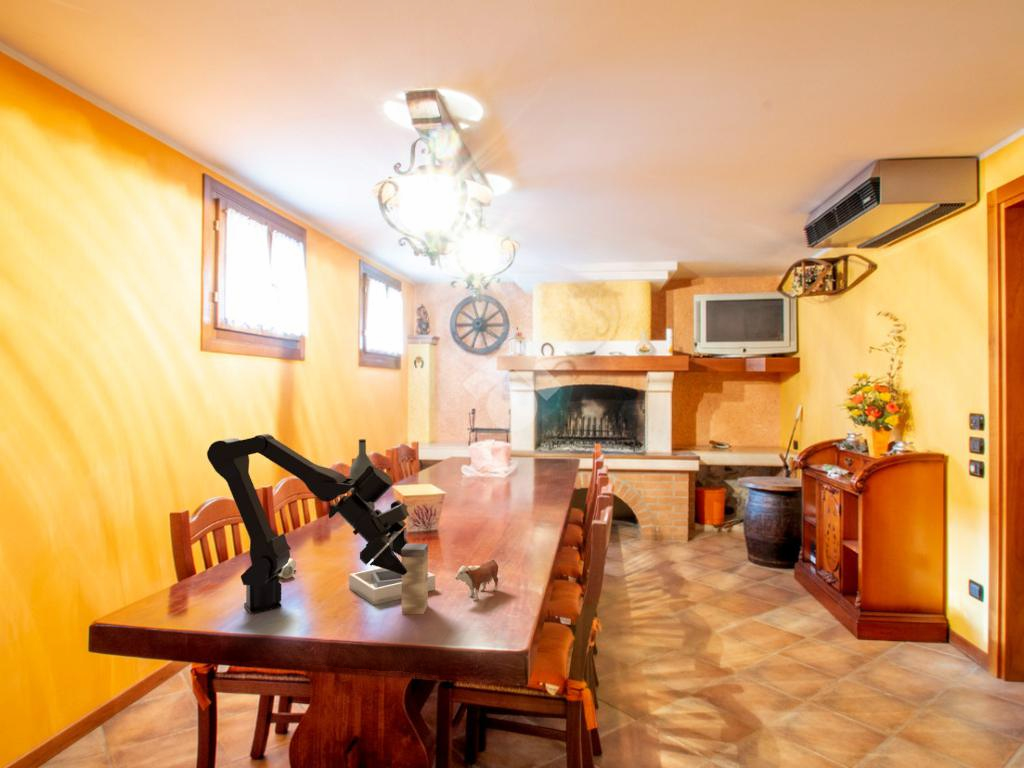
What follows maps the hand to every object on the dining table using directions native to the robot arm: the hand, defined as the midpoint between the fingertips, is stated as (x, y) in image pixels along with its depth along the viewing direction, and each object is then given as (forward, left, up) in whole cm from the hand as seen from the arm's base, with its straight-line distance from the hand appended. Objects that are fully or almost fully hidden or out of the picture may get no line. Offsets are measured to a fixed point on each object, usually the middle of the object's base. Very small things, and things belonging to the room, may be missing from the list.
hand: (410, 566), depth 127 cm
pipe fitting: (-14, +43, -10) cm, 46 cm away
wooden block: (+1, -1, -9) cm, 10 cm away
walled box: (+3, +14, -9) cm, 17 cm away
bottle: (+29, +90, -10) cm, 95 cm away
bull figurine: (+17, -3, -10) cm, 20 cm away
